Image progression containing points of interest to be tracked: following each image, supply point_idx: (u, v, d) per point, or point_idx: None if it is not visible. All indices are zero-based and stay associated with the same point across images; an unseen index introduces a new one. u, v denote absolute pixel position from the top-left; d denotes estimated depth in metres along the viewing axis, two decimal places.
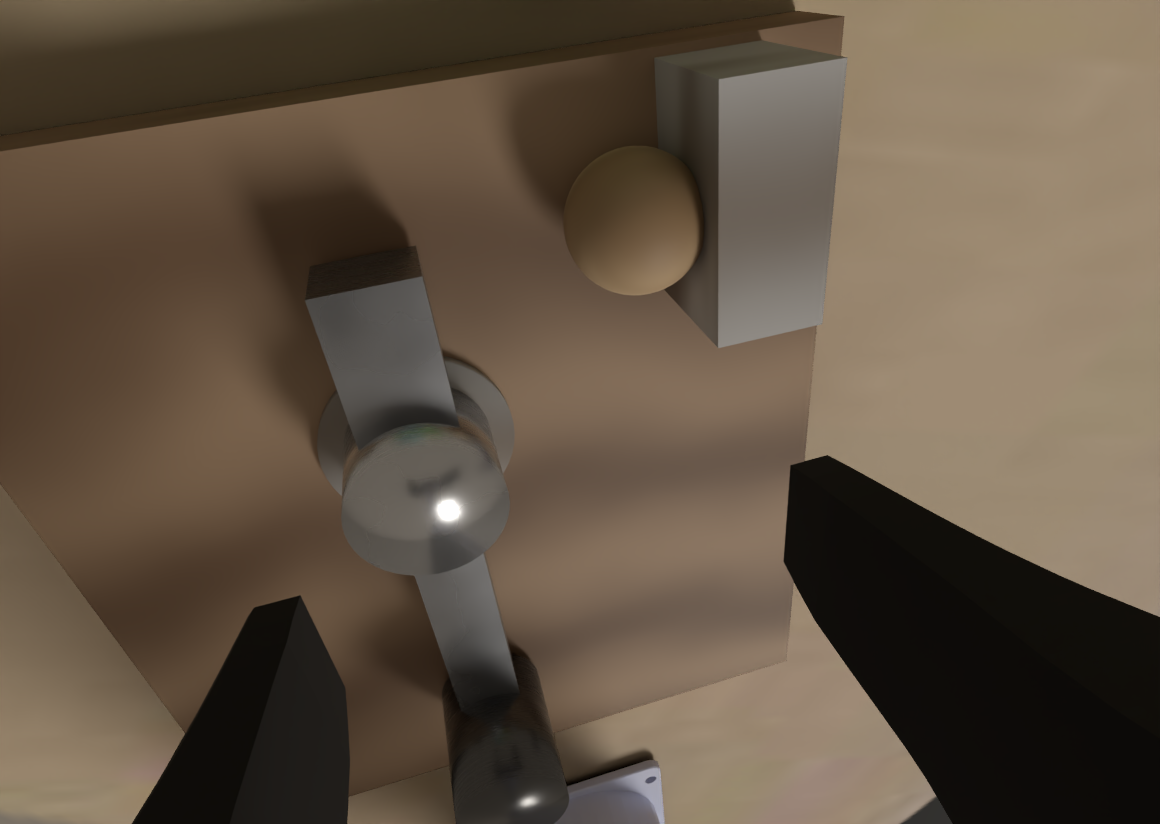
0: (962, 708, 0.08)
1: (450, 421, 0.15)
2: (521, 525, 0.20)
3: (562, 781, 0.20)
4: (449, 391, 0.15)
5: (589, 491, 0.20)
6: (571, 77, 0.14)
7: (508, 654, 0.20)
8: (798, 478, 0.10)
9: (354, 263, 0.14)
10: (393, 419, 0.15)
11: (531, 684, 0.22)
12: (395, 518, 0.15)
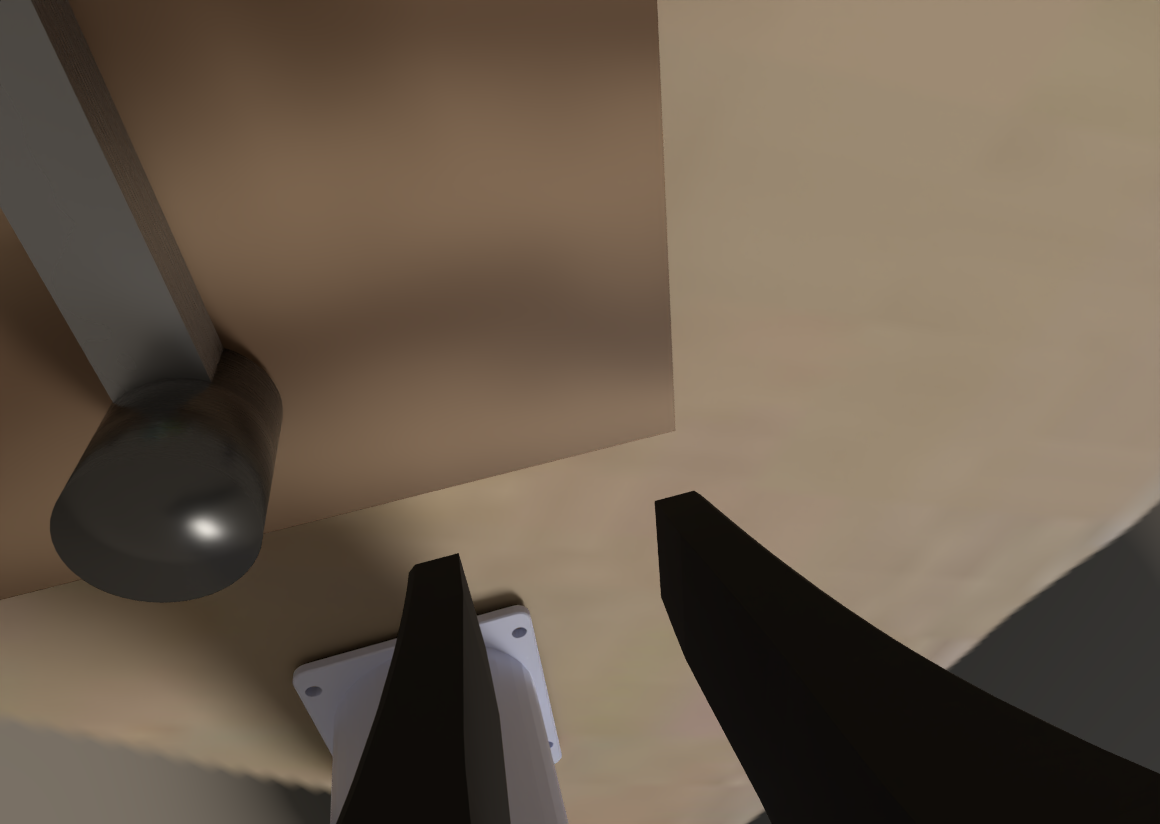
0: (790, 766, 0.08)
1: None
2: (185, 84, 0.13)
3: (242, 485, 0.12)
4: None
5: (295, 29, 0.13)
6: None
7: (166, 292, 0.13)
8: (661, 515, 0.10)
9: None
10: None
11: (244, 382, 0.14)
12: None
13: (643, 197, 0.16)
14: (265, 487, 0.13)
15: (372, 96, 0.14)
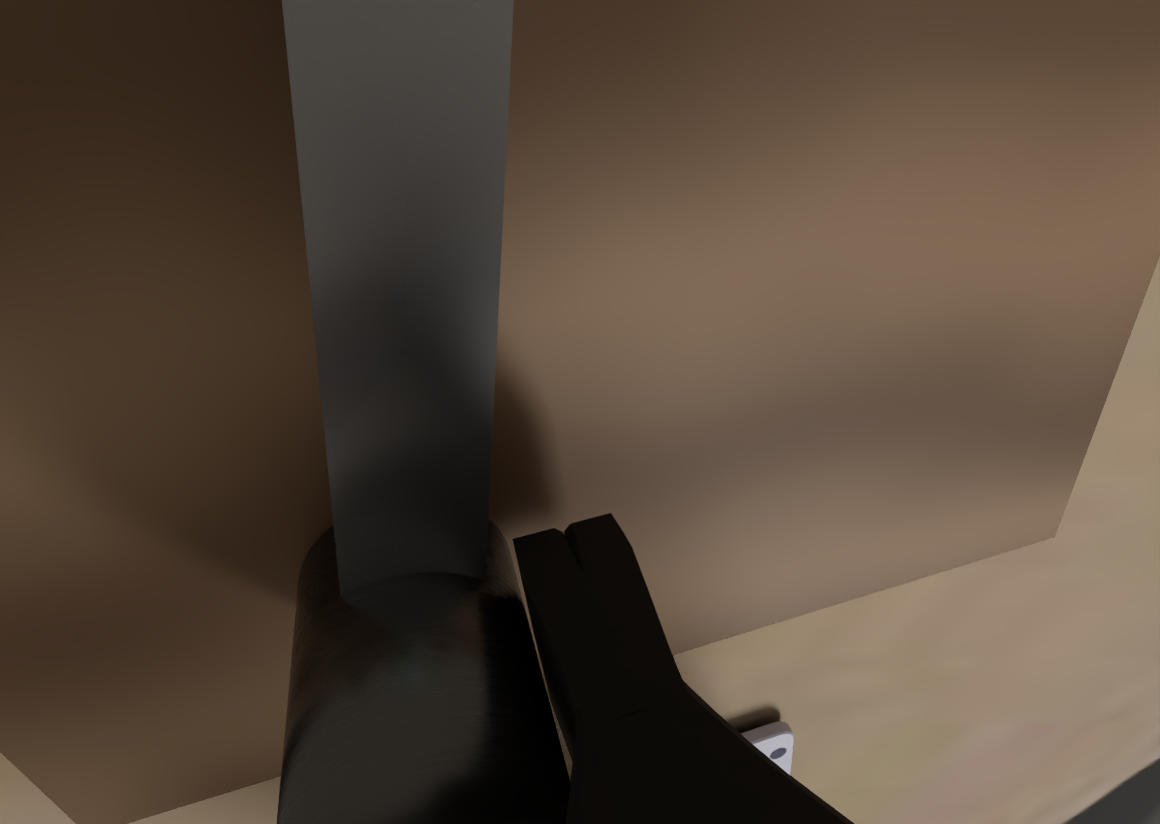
0: None
1: None
2: (641, 117, 0.08)
3: None
4: None
5: (807, 34, 0.08)
6: None
7: (488, 462, 0.08)
8: None
9: None
10: None
11: (507, 573, 0.10)
12: None
13: (1134, 258, 0.12)
14: None
15: (871, 130, 0.09)
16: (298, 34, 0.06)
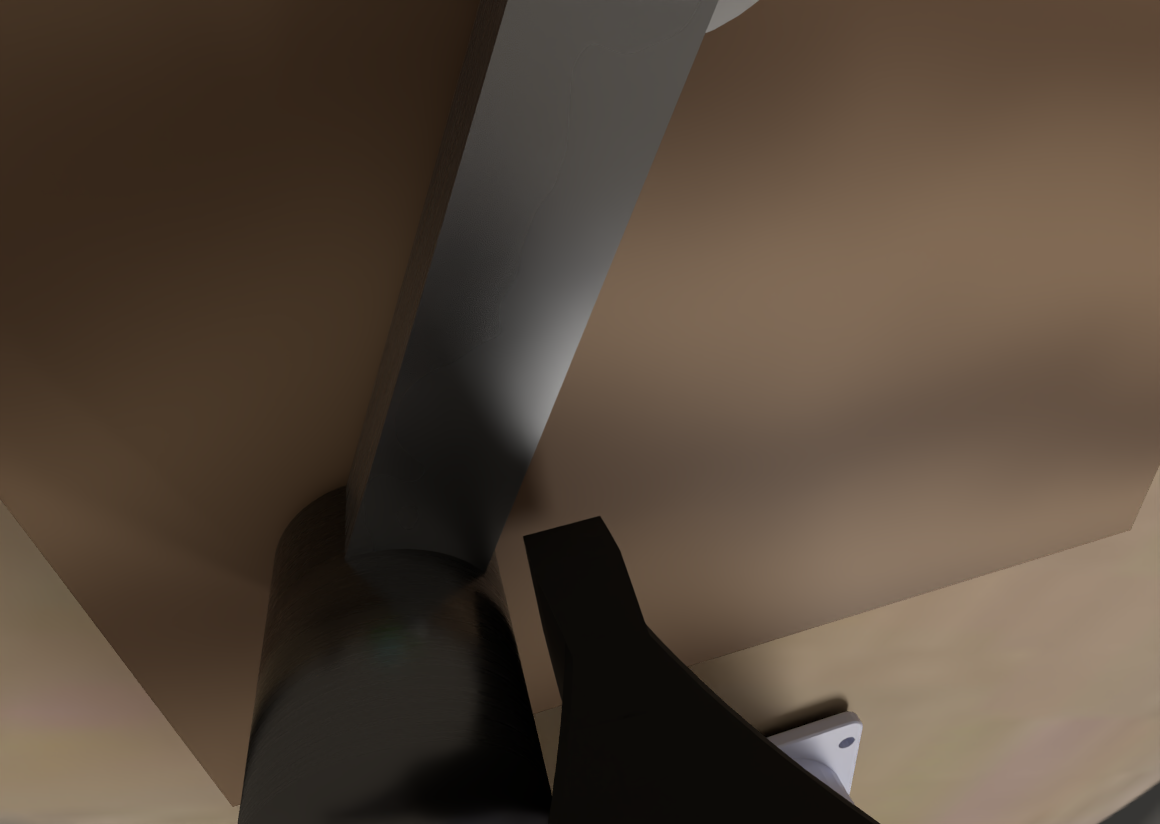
0: None
1: None
2: (808, 132, 0.09)
3: None
4: None
5: (960, 58, 0.09)
6: None
7: (530, 455, 0.09)
8: (527, 551, 0.10)
9: None
10: None
11: (499, 572, 0.10)
12: None
13: None
14: None
15: (1006, 144, 0.10)
16: (514, 17, 0.06)
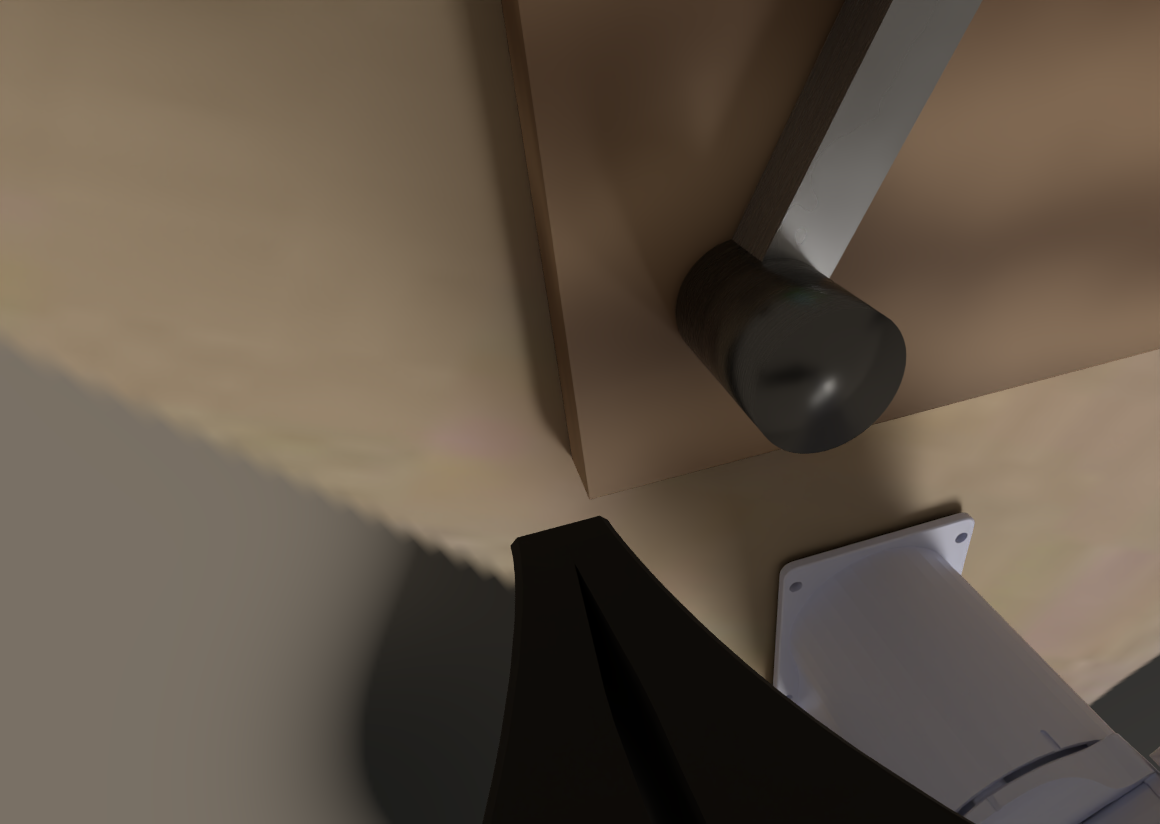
0: (666, 807, 0.07)
1: None
2: (1021, 20, 0.16)
3: None
4: None
5: None
6: None
7: (871, 200, 0.15)
8: (563, 542, 0.10)
9: None
10: None
11: None
12: None
13: None
14: None
15: (1132, 32, 0.16)
16: None
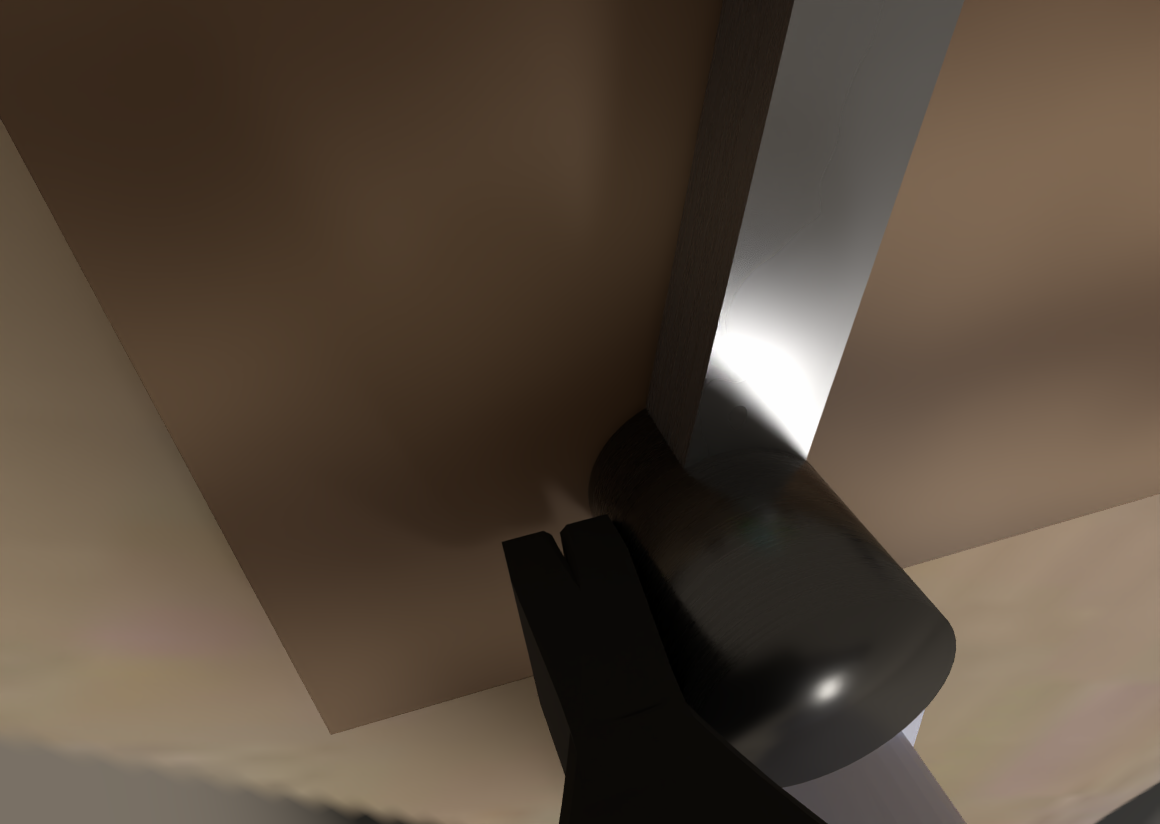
0: None
1: None
2: (991, 5, 0.09)
3: None
4: None
5: None
6: None
7: (847, 333, 0.09)
8: (505, 557, 0.09)
9: None
10: None
11: None
12: None
13: None
14: None
15: None
16: None
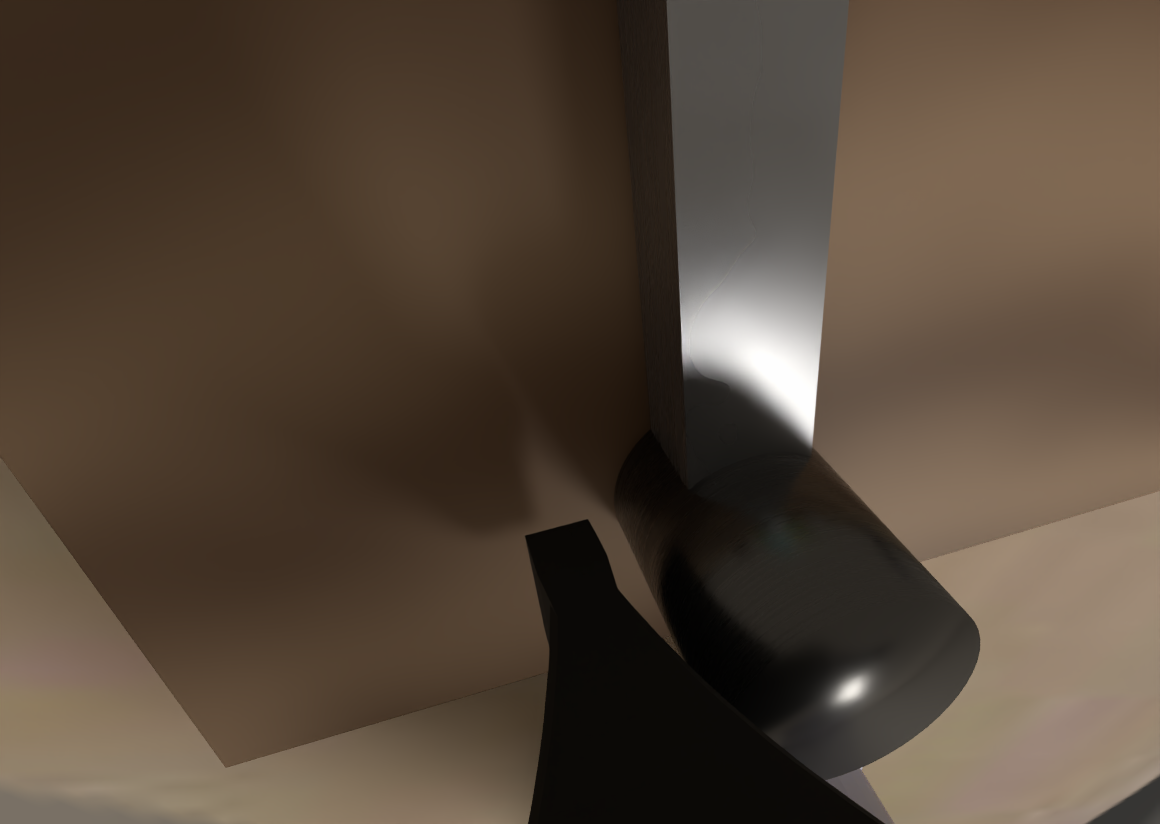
0: None
1: None
2: None
3: None
4: None
5: None
6: None
7: (819, 334, 0.09)
8: (529, 551, 0.10)
9: None
10: None
11: (817, 452, 0.10)
12: None
13: None
14: None
15: (1052, 51, 0.09)
16: None
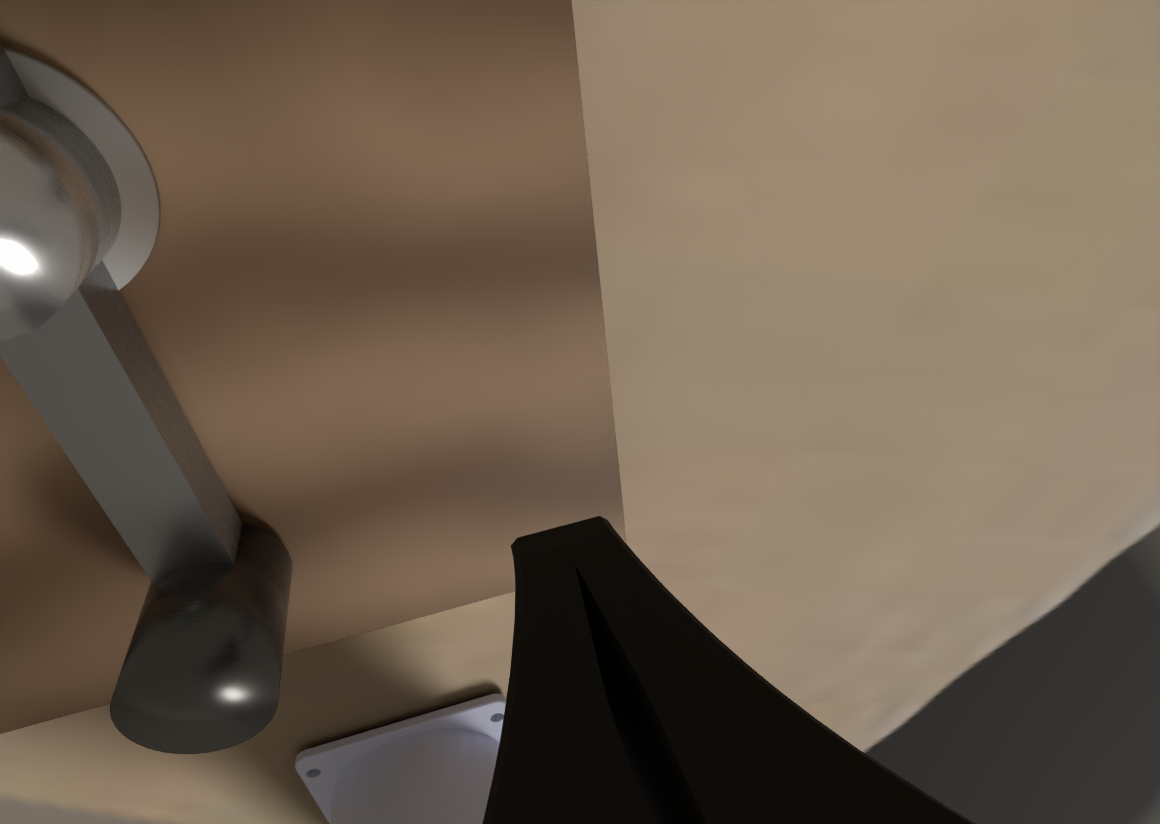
0: (666, 807, 0.07)
1: None
2: (209, 337, 0.16)
3: (261, 665, 0.15)
4: None
5: (298, 293, 0.16)
6: None
7: (198, 504, 0.16)
8: (563, 541, 0.10)
9: None
10: None
11: (260, 557, 0.17)
12: None
13: (591, 389, 0.19)
14: (279, 655, 0.16)
15: (361, 334, 0.16)
16: (4, 353, 0.13)
